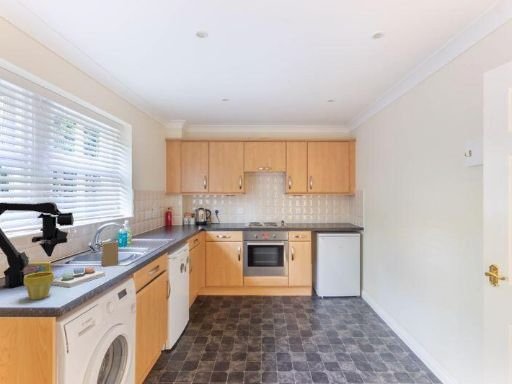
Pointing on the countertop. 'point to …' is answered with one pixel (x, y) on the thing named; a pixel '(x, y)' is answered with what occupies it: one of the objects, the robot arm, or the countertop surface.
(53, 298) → the countertop surface
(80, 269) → the slate button
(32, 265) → the candy box
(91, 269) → the terracotta button
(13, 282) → the robot arm
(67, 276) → the sage button
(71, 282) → the button board
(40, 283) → the plant pot
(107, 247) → the sandwich container
